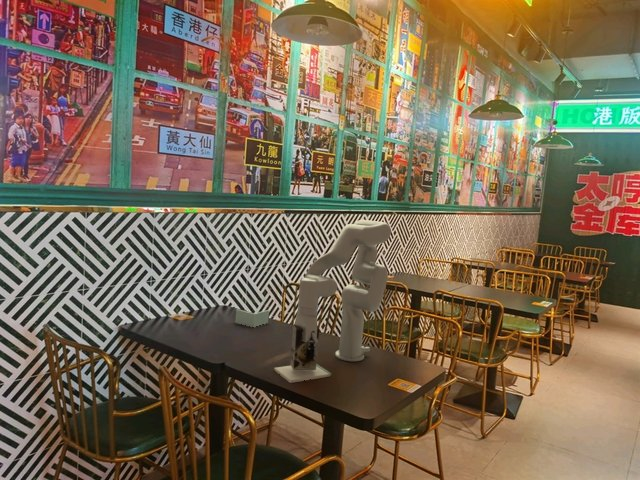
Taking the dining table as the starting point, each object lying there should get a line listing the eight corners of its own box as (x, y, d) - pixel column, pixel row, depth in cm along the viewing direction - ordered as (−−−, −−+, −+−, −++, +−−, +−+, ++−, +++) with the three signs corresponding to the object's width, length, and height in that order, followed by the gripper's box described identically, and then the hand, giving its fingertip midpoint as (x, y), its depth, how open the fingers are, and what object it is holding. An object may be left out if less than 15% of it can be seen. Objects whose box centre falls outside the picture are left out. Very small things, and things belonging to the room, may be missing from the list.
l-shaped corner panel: (268, 324, 248) (269, 310, 248) (253, 328, 238) (254, 314, 237) (250, 319, 254) (251, 305, 254) (235, 323, 244) (236, 309, 244)
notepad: (313, 364, 193) (313, 361, 193) (331, 376, 182) (331, 373, 182) (274, 370, 184) (274, 367, 184) (290, 382, 173) (290, 380, 173)
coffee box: (293, 370, 179) (296, 329, 177) (289, 364, 185) (292, 324, 183) (316, 370, 181) (319, 329, 180) (312, 364, 187) (315, 324, 186)
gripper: (288, 305, 186) (285, 349, 188) (311, 317, 171) (307, 364, 173) (304, 304, 190) (301, 347, 192) (328, 315, 176) (324, 361, 177)
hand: (304, 355), depth 183 cm, fingers closed on coffee box, 7 cm apart
